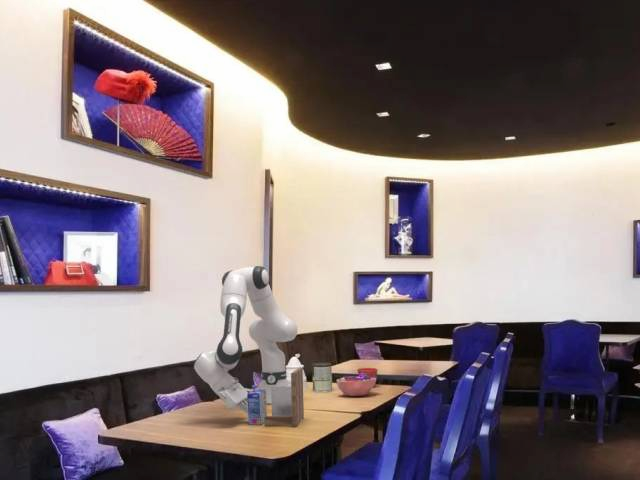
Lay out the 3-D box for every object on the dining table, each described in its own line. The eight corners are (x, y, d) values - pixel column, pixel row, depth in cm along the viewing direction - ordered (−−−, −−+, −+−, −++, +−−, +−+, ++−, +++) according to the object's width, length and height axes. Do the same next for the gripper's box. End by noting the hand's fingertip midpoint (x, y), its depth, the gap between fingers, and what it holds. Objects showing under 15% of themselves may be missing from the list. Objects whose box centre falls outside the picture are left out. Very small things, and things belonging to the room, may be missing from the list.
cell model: (331, 395, 303) (330, 372, 304) (367, 391, 310) (367, 369, 311) (344, 400, 287) (343, 375, 288) (382, 396, 294) (381, 372, 295)
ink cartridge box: (254, 419, 246) (253, 383, 247) (267, 419, 245) (266, 383, 246) (247, 424, 236) (246, 387, 238) (261, 425, 235) (260, 386, 237)
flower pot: (376, 385, 331) (375, 367, 332) (379, 388, 320) (378, 369, 321) (357, 386, 330) (356, 368, 331) (359, 389, 320) (358, 370, 321)
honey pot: (306, 385, 338) (305, 352, 340) (306, 389, 325) (305, 355, 327) (283, 386, 338) (282, 353, 340) (282, 389, 325) (281, 355, 327)
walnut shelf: (273, 417, 249) (272, 368, 251) (303, 417, 247) (302, 367, 249) (263, 427, 231) (262, 373, 233) (296, 427, 230) (294, 373, 231)
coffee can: (308, 391, 318) (308, 363, 319) (325, 389, 324) (324, 362, 325) (320, 393, 309) (319, 365, 311) (336, 391, 315) (335, 363, 317)
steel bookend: (274, 417, 250) (273, 385, 251) (300, 417, 248) (299, 384, 250) (271, 419, 246) (271, 386, 247) (298, 419, 244) (297, 386, 245)
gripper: (222, 384, 233) (247, 410, 231) (237, 377, 254) (260, 401, 251) (211, 396, 234) (236, 422, 231) (227, 388, 254) (250, 412, 251)
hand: (249, 411), depth 241 cm, fingers closed, pressing on ink cartridge box
